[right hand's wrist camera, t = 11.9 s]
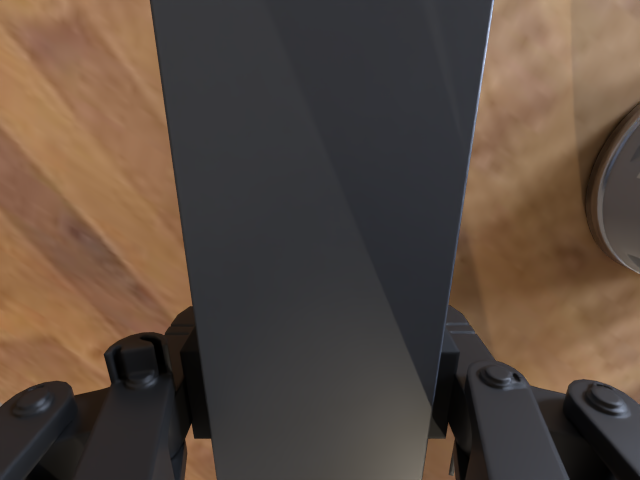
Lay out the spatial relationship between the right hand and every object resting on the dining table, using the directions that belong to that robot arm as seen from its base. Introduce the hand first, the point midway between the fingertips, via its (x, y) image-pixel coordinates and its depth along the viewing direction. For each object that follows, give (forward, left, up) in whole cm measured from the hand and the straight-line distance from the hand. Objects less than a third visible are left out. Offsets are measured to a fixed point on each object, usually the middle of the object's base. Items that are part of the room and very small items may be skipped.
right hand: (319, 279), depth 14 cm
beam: (-3, -11, -3) cm, 12 cm away
